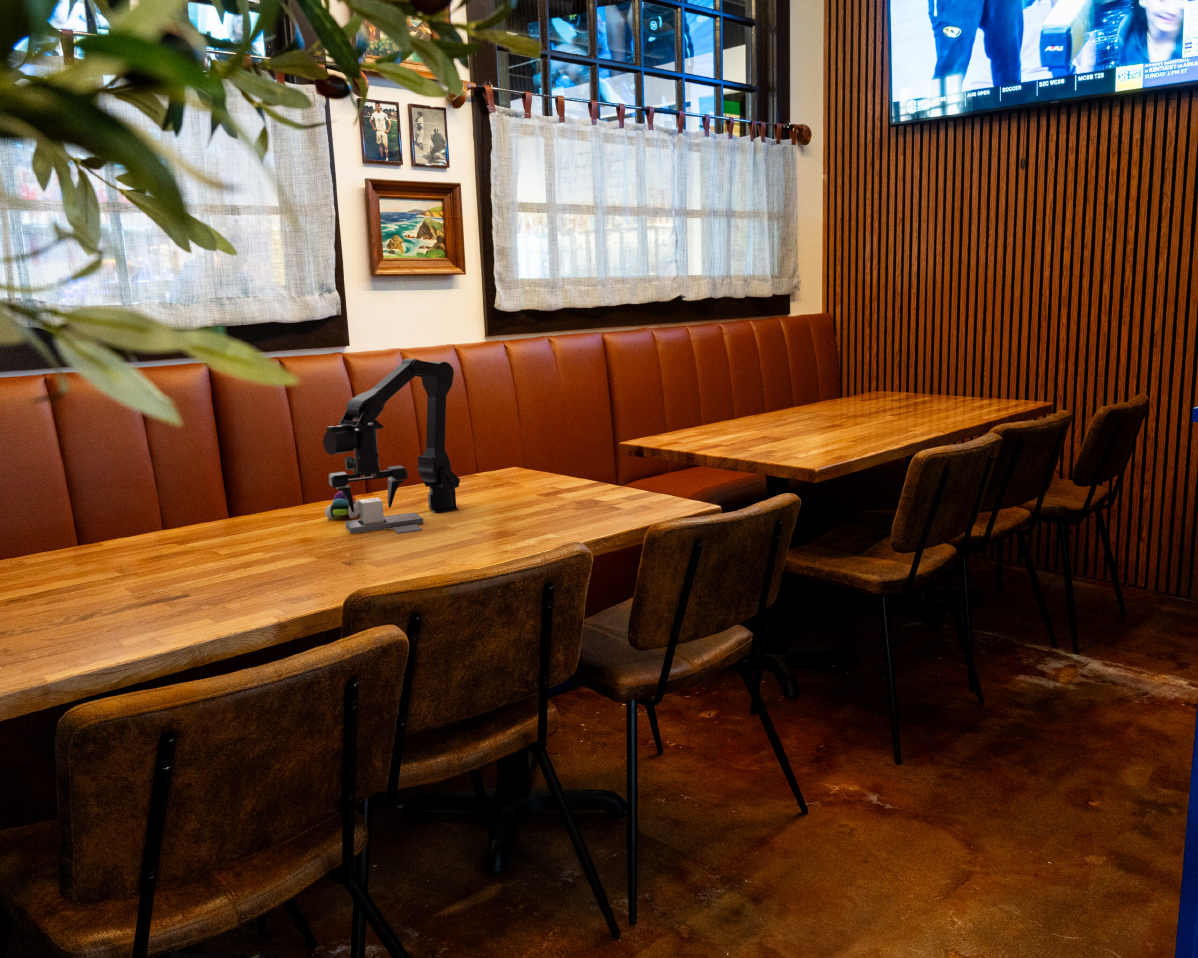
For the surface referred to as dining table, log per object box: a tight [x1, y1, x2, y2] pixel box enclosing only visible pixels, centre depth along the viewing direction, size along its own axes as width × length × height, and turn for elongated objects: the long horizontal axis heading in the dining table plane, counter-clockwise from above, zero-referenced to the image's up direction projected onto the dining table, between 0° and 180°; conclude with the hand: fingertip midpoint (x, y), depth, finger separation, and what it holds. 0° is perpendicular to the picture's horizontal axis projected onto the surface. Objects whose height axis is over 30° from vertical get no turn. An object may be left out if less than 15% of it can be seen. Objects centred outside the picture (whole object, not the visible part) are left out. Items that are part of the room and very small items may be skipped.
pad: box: [391, 524, 423, 534], centre depth 244 cm, size 6×6×1 cm
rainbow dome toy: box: [324, 490, 360, 521], centre depth 260 cm, size 8×10×7 cm
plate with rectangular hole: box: [344, 512, 424, 535], centre depth 249 cm, size 18×8×2 cm, turn 114°
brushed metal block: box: [357, 497, 385, 526], centre depth 247 cm, size 5×5×7 cm
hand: (371, 509), depth 247 cm, fingers open, 9 cm apart
